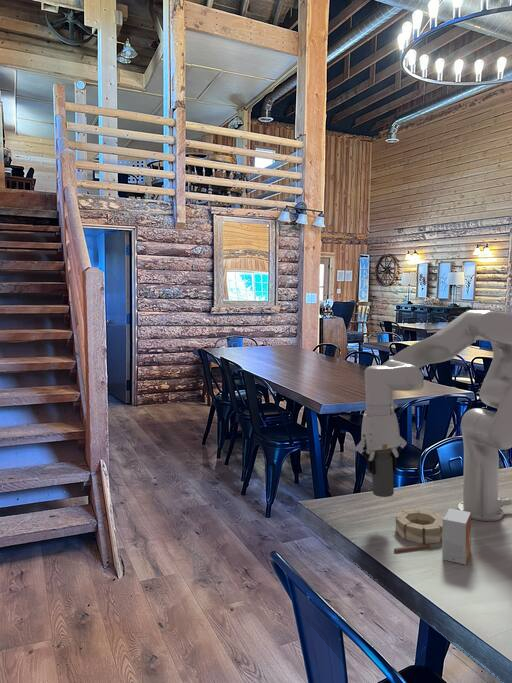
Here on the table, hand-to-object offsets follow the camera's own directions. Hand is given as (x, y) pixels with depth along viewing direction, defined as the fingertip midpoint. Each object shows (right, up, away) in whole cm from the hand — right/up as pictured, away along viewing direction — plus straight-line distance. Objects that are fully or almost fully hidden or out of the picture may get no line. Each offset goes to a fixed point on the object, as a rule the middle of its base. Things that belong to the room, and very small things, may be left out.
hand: (382, 470), depth 144 cm
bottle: (0, -7, +1) cm, 7 cm away
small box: (+15, -17, -16) cm, 28 cm away
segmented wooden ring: (+10, -16, -4) cm, 19 cm away
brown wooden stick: (+5, -17, -13) cm, 22 cm away
